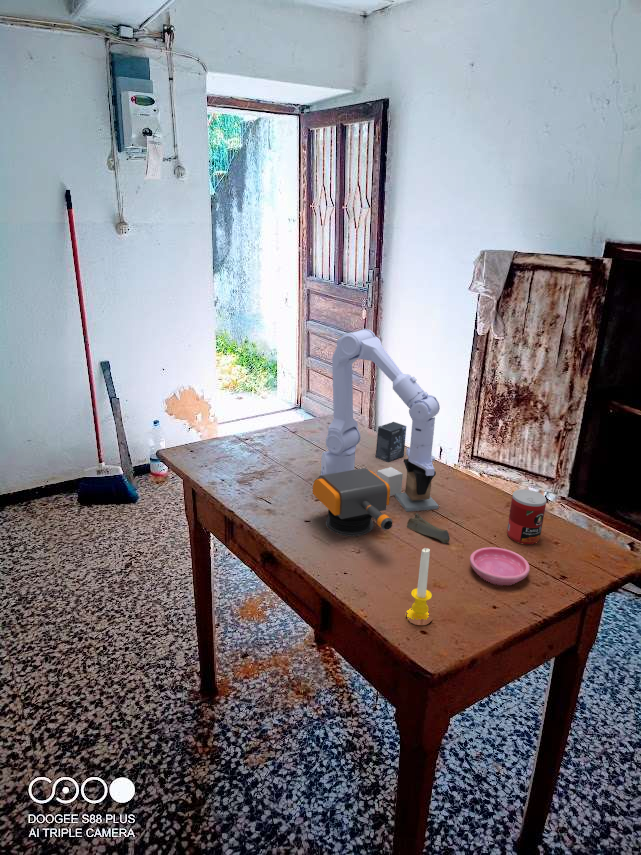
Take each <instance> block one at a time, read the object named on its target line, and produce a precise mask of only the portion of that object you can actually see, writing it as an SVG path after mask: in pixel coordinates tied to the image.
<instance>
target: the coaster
mask: <svg viewBox="0 0 641 855" xmlns="http://www.w3.org/2000/svg"><path fill="white" fill-rule="evenodd" d="M394 497H395V499H396V500H397V502H399V504H400V506H402V508H403V509H404V510H405V512H406V513H408V512H418V511H428V510H438V509H439V504H438V503H437V502H436V501H435V500H434V499H433V498H432V496H430V499H425V500H413V501H412V500H411V499H410V498H409V496H408V495H407V494H406V493H405V491H404V492H401V493H395V495H394Z"/></svg>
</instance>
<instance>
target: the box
mask: <svg viewBox="0 0 641 855" xmlns="http://www.w3.org/2000/svg"><path fill="white" fill-rule="evenodd" d="M377 427H378V428H377V435H376V436H377V437H376V448H375V449H376V450H375V458H378V459H380V460H382V461H385V462H387V463H390V462H391V461H395V460H397V459H399V458H403V457H405V449H406V448H405V447H406V437H407V436H406V435H407V428H408V427H407V425H404V424H402V423H398V422H395V421H392V422H388V423H386V424H383V425H382V424H381V425H379V426H377Z"/></svg>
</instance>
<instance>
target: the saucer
mask: <svg viewBox="0 0 641 855" xmlns="http://www.w3.org/2000/svg"><path fill="white" fill-rule="evenodd" d="M469 563H470V566H471V567H472V569H473V571H474V572H475V573H476V574H477V576H478V575H479V576H480V577H479V576H478V577H479V578H481V579H482V578H483V579H484V581H485V580H486V581H485V582H487V581H488V582H487V583H489V582H490V584H492V583H493V584H492V585H496V584H497V586H503V585H507V586H512V584H513V585H515V583H516V584H517V583H518V582H521V581H522V580H524V579H526V577H528V575H529V572H530V568H531V567H530V564H529V562H528V561H527V560H526V558H524V557H523V556H522V555H520V554H519V553H517V552H514V551H512V550H510V549H506V548H502V547H495V546H492V547H491V546H490V547H489V546H488V547H482V548H478V549H476V550H474V551H473V552H472V553H471V554H470V556H469ZM483 579H482V580H483Z"/></svg>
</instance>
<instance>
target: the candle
mask: <svg viewBox="0 0 641 855" xmlns="http://www.w3.org/2000/svg"><path fill="white" fill-rule="evenodd" d="M430 552H431V549H430V548H427V547H424V548H422V549H421V553H420V559H419V560H420V561H419V570H418V577H417V578H418V581H417V587H415V588H413V589H412V591H411V592H410V594H411V597H413V599H414V602H413V603H412V604H411V608H409V610H408V609H407V610H406V612H407V613H408V614H407V617H409V618H411V619H413V620H414V618H415V619H416V620H418V619H420V620H421V619H424V620H425V619H426V620H427V618H428V617H429V616H428V615H429V613H428V611H429V610H430V609H429V605H428V602H427V601H429V600H431V599H432V596H433V594H432V592H431V591H430V590H428V589H427V588H428V577H429V576H428V575H429V565H430V554H431V553H430ZM411 609H412V610H411ZM412 617H413V618H412ZM409 618H408V619H409ZM417 618H418V619H417Z"/></svg>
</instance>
